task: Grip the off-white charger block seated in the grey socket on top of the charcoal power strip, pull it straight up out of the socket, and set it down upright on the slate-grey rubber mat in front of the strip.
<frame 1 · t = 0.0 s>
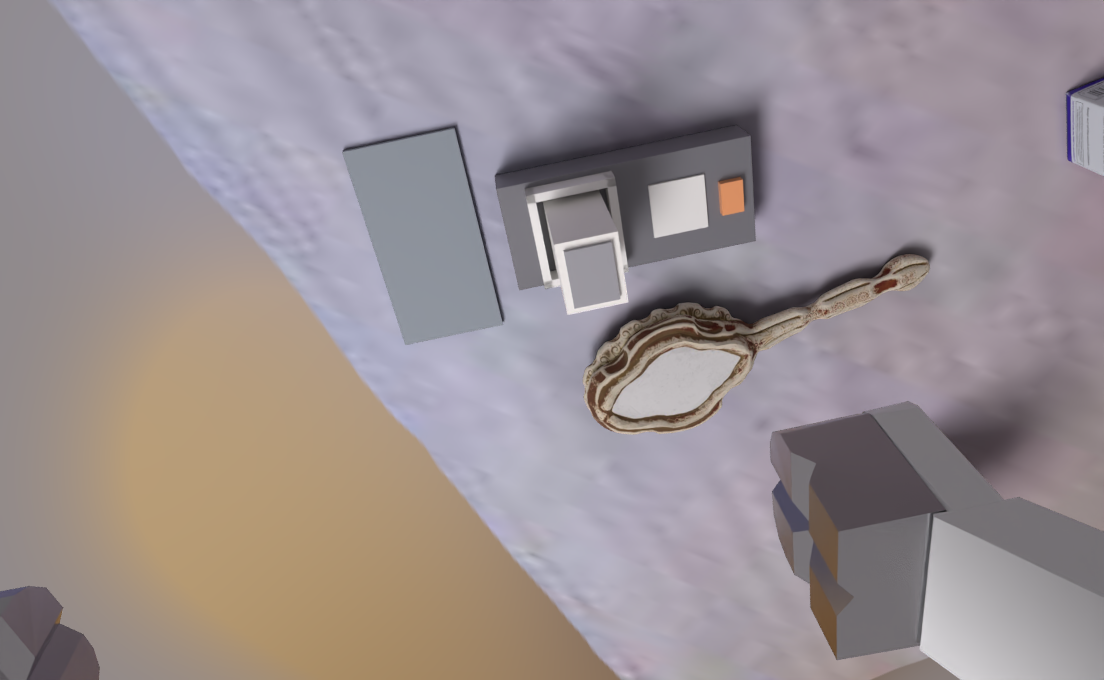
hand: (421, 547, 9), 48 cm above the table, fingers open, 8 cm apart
hand mirror: (746, 322, 65), on the table
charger: (576, 227, 55), point 3 cm above the table, touching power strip
slate mat: (428, 242, 58), on the table
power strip: (623, 201, 58), on the table
supplement box: (1101, 113, 58), on the table
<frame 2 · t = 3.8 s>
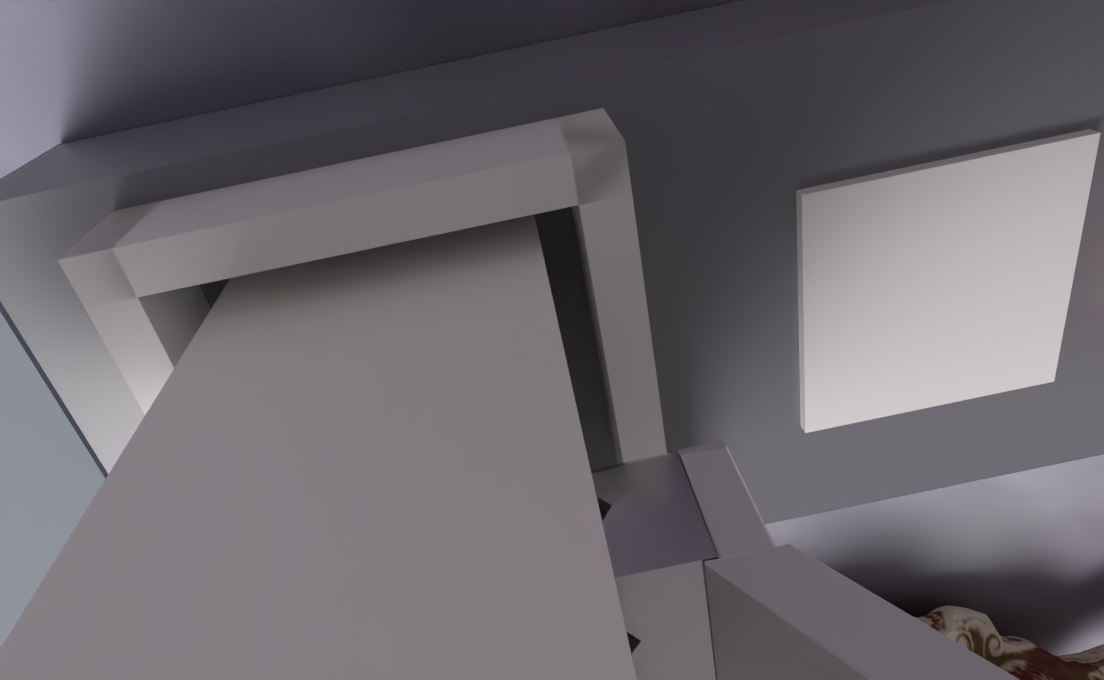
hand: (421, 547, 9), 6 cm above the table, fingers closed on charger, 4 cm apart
hand mirror: (1024, 616, 21), on the table
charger: (432, 394, 11), point 3 cm above the table, touching gripper, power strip
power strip: (654, 257, 14), on the table
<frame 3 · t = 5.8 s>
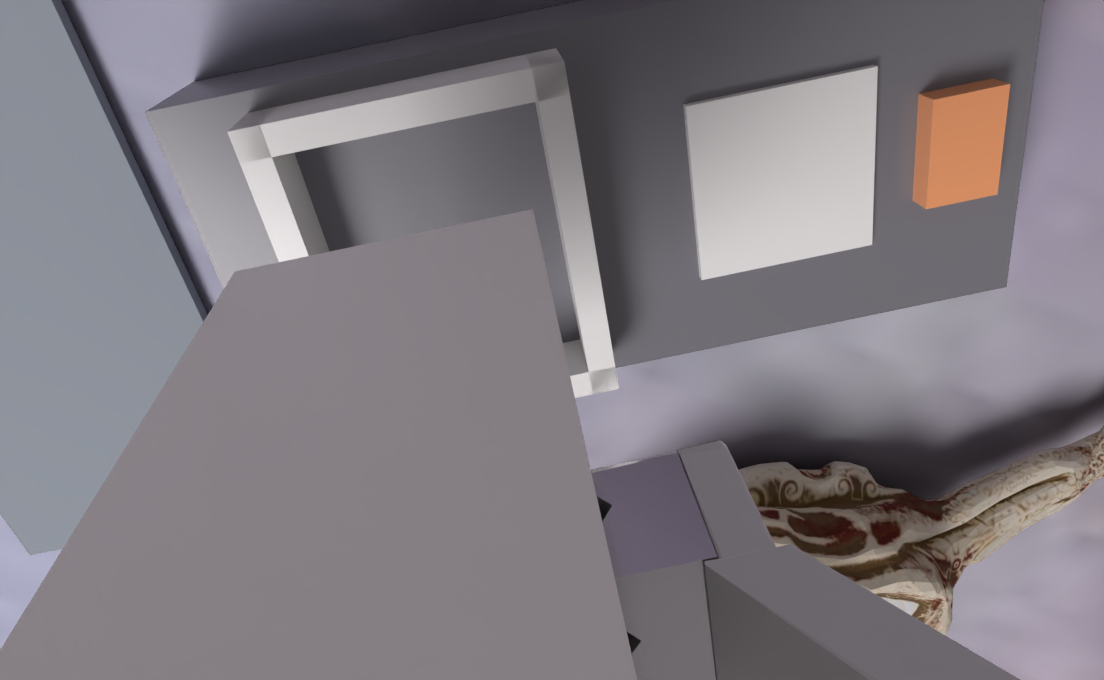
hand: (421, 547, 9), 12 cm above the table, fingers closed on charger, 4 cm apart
hand mirror: (908, 480, 26), on the table
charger: (432, 394, 11), point 9 cm above the table, touching gripper
slate mat: (28, 289, 20), on the table
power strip: (603, 169, 19), on the table
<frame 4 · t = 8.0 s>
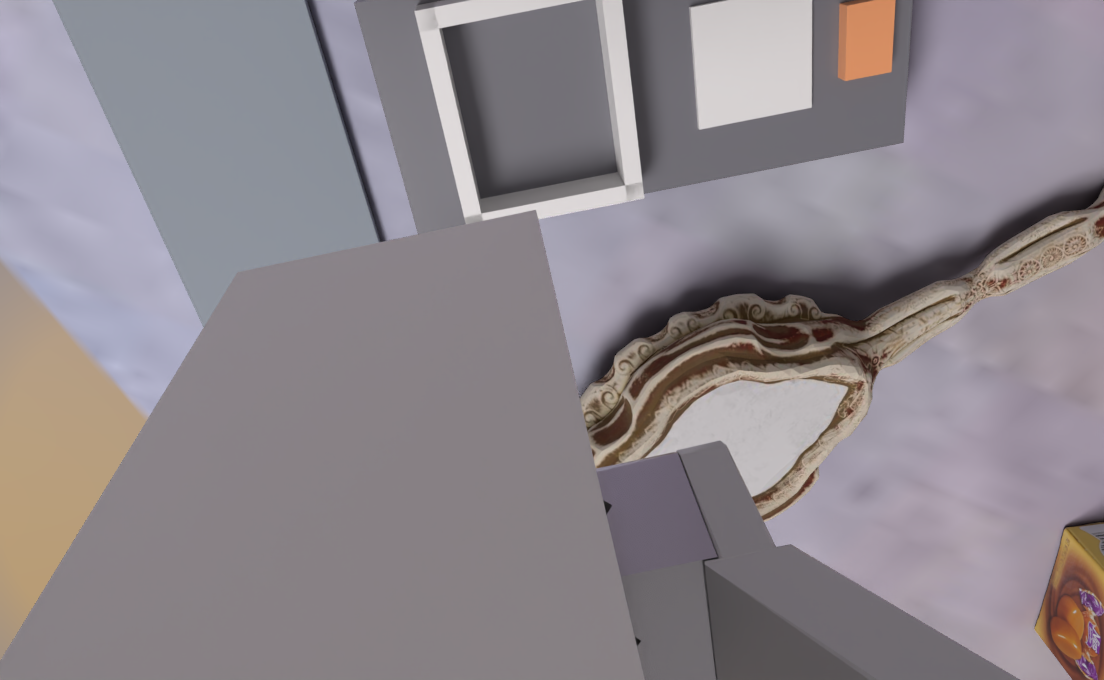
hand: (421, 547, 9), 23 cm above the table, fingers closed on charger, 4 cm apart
hand mirror: (847, 316, 35), on the table
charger: (435, 395, 11), point 20 cm above the table, touching gripper
slate mat: (237, 140, 28), on the table
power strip: (633, 62, 28), on the table
candy box: (1073, 572, 46), on the table
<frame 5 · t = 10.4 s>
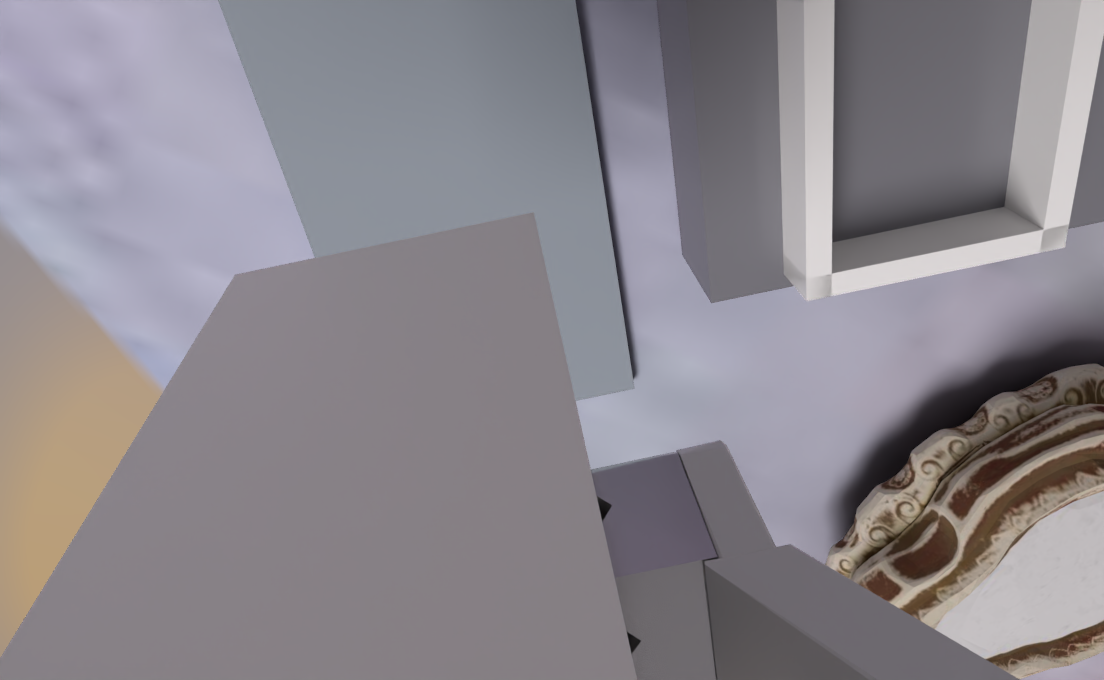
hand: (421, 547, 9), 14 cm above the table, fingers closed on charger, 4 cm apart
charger: (433, 397, 11), point 10 cm above the table, touching gripper
slate mat: (445, 165, 20), on the table
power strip: (1005, 48, 20), on the table
when the fingers open (5 cm above the table, at t = 12.3 s): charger drops 2 cm, resting on slate mat.
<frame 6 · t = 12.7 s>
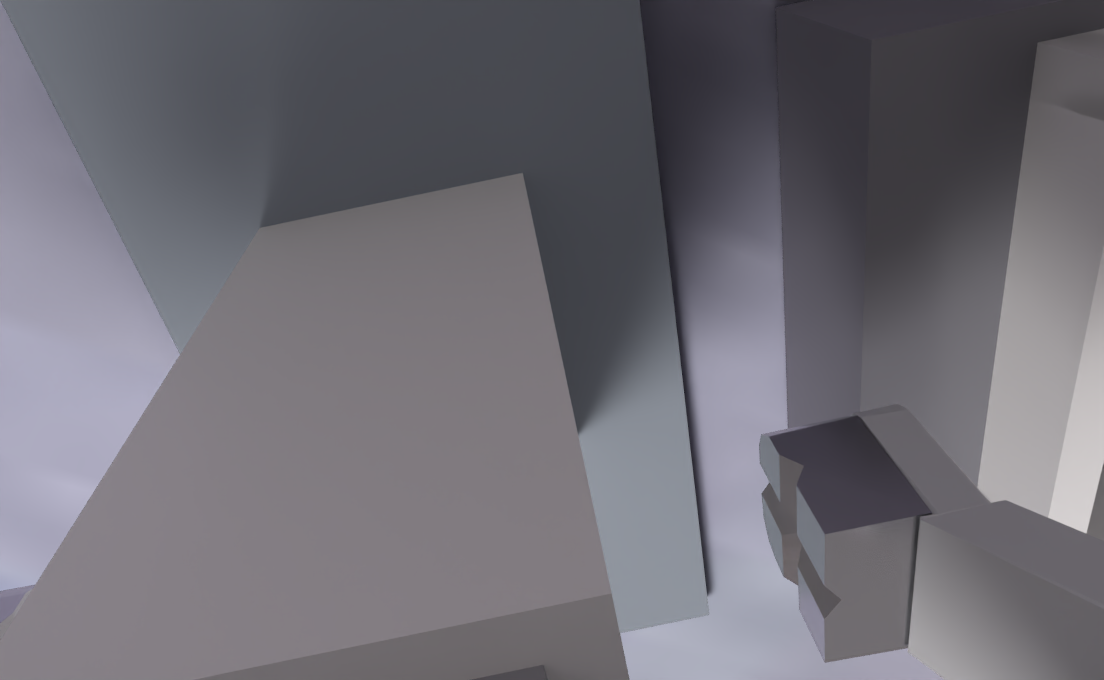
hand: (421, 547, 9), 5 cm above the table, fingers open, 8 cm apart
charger: (434, 342, 13), resting on slate mat
slate mat: (436, 330, 13), on the table
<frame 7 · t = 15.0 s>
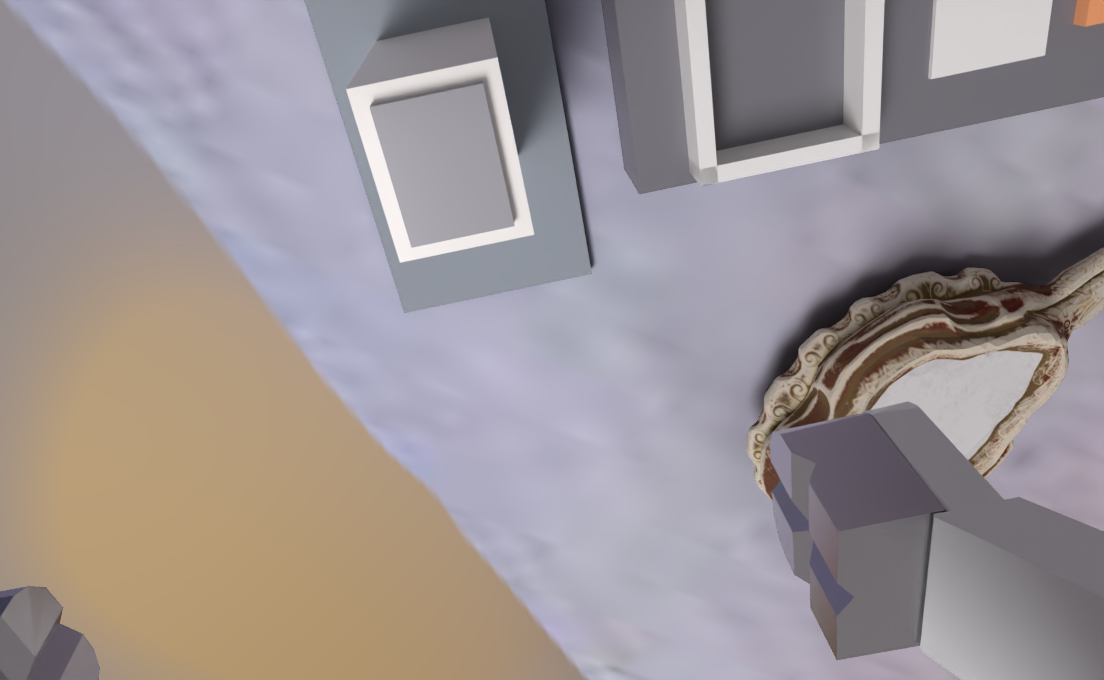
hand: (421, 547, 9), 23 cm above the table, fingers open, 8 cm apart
hand mirror: (1021, 282, 35), on the table
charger: (450, 101, 28), resting on slate mat
slate mat: (451, 98, 28), on the table
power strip: (849, 15, 28), on the table
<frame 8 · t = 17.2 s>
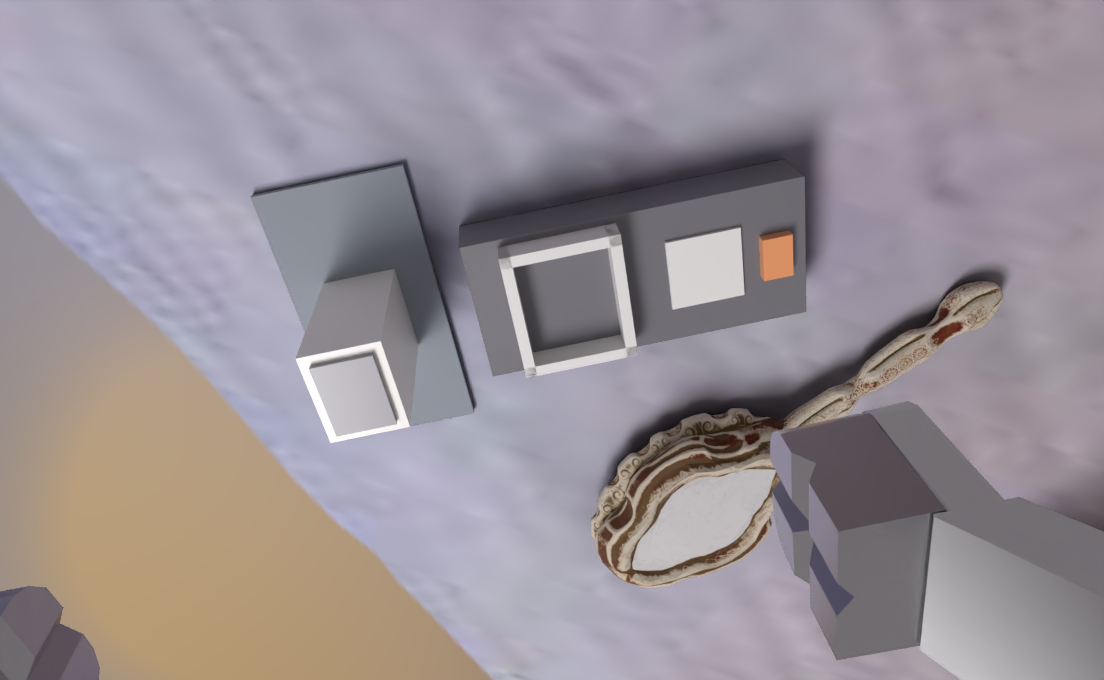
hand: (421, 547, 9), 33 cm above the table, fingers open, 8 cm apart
hand mirror: (778, 411, 51), on the table
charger: (372, 315, 43), resting on slate mat
slate mat: (373, 311, 44), on the table
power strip: (630, 258, 44), on the table
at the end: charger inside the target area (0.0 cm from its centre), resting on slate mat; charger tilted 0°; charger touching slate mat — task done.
